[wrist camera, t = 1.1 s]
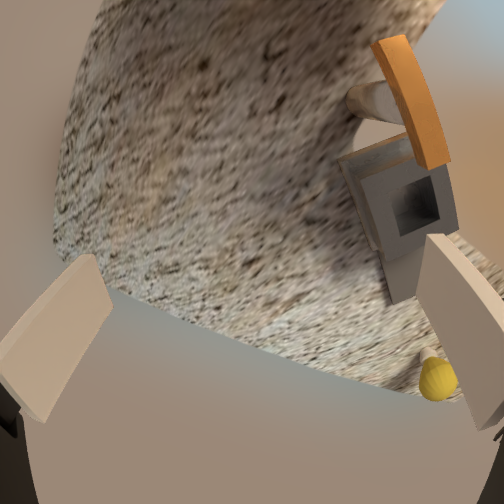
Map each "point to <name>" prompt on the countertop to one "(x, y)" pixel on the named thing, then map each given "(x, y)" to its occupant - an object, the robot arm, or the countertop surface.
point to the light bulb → (436, 376)
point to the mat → (402, 274)
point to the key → (402, 101)
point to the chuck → (398, 196)
